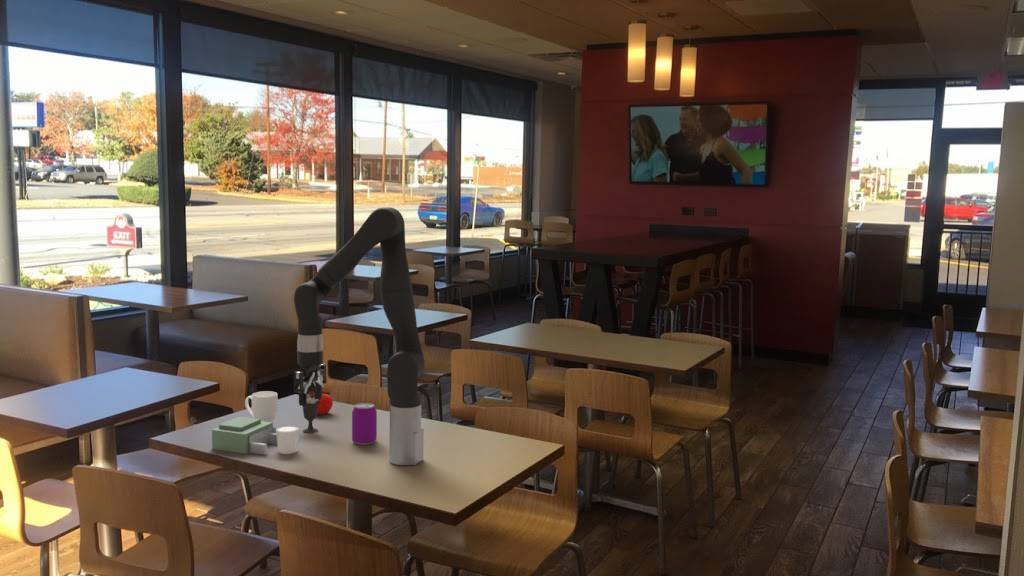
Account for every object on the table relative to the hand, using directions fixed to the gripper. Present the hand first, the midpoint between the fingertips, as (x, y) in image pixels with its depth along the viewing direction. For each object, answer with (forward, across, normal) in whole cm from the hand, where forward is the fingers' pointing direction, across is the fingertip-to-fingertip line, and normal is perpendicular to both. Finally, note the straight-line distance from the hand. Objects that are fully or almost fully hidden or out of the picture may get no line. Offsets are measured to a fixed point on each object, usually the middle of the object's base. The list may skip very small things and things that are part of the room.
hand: (310, 402), depth 249 cm
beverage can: (+16, +17, -9) cm, 25 cm away
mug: (+16, +19, +31) cm, 40 cm away
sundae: (+16, +21, +13) cm, 29 cm away
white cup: (+16, 0, +8) cm, 18 cm away
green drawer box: (+16, 0, +24) cm, 29 cm away
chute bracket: (+16, 0, +15) cm, 22 cm away
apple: (+16, +41, +21) cm, 49 cm away
